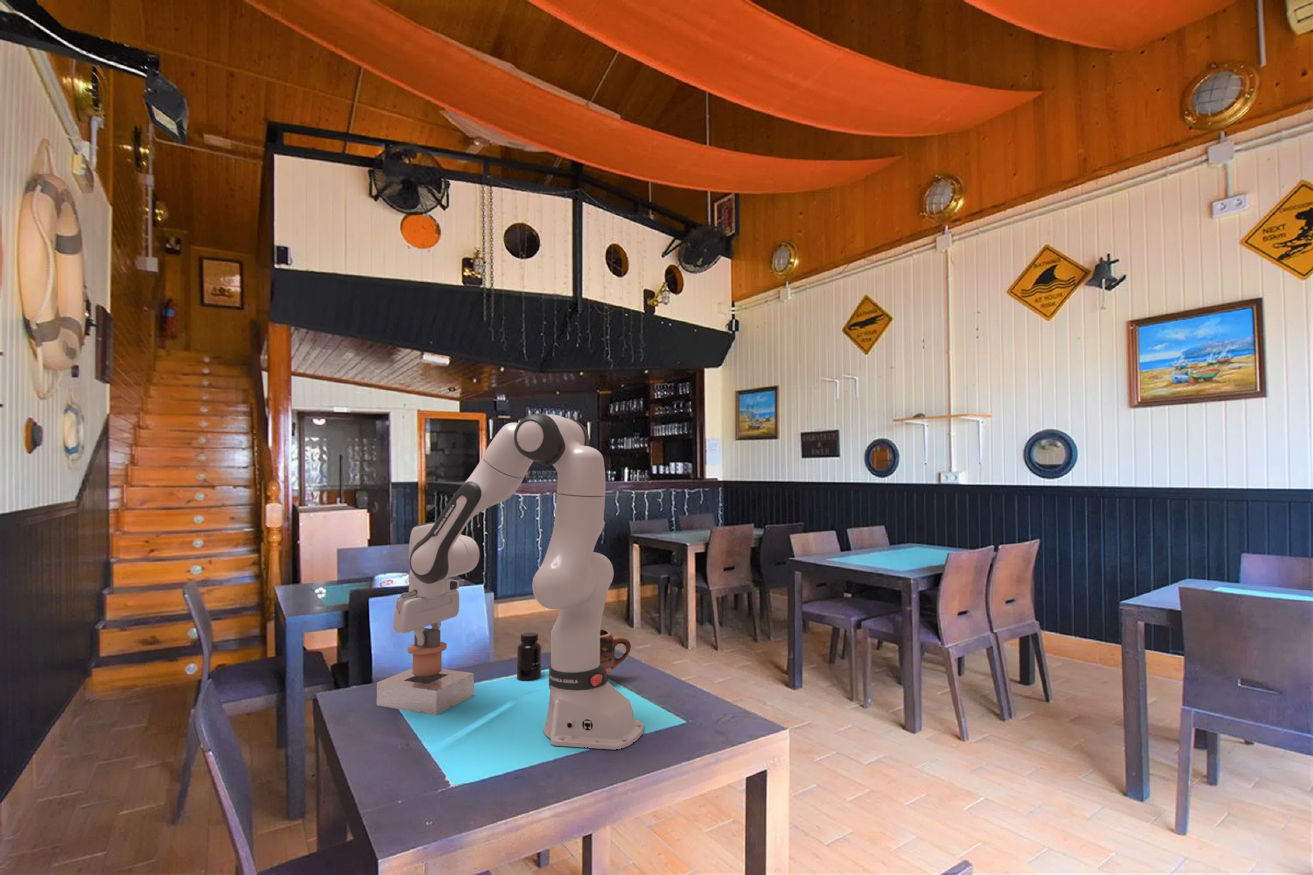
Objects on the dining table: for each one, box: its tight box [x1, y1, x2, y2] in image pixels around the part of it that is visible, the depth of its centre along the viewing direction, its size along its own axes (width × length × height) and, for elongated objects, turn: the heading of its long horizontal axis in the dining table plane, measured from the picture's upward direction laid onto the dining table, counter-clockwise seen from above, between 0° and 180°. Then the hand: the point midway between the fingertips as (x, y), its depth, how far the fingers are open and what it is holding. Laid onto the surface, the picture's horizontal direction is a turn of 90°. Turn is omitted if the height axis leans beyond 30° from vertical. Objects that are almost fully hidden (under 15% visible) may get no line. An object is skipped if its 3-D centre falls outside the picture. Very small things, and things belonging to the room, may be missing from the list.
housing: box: [376, 667, 475, 716], centre depth 159 cm, size 18×14×7 cm
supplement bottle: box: [516, 632, 542, 681], centre depth 181 cm, size 7×7×12 cm
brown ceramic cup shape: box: [600, 628, 632, 682], centre depth 176 cm, size 20×12×14 cm, turn 113°
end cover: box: [407, 627, 448, 676], centre depth 160 cm, size 9×9×10 cm
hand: (427, 642), depth 160 cm, fingers closed on end cover, 2 cm apart
